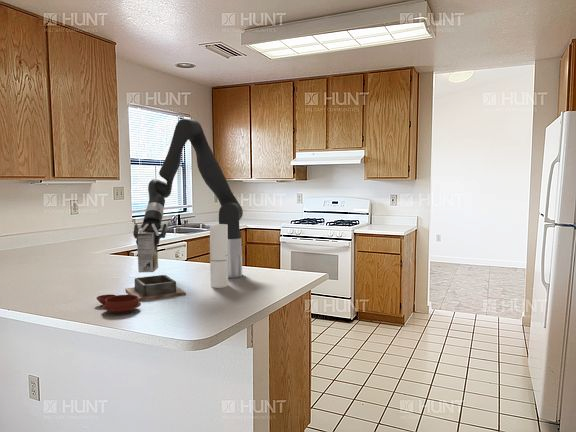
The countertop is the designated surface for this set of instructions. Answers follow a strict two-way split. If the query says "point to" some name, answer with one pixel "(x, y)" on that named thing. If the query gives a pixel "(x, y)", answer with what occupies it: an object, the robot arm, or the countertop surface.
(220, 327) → the countertop surface
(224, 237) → the cylindrical container
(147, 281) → the docking cradle
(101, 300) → the pottery
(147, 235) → the coffee box
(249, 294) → the countertop surface
